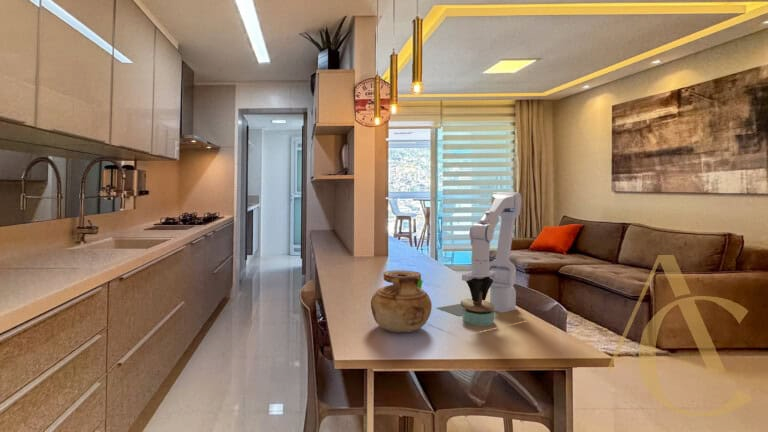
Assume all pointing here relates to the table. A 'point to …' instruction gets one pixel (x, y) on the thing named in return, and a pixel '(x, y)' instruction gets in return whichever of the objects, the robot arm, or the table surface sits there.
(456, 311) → the mat
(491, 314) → the bowl
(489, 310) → the lid
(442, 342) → the table surface
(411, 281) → the clay pot
